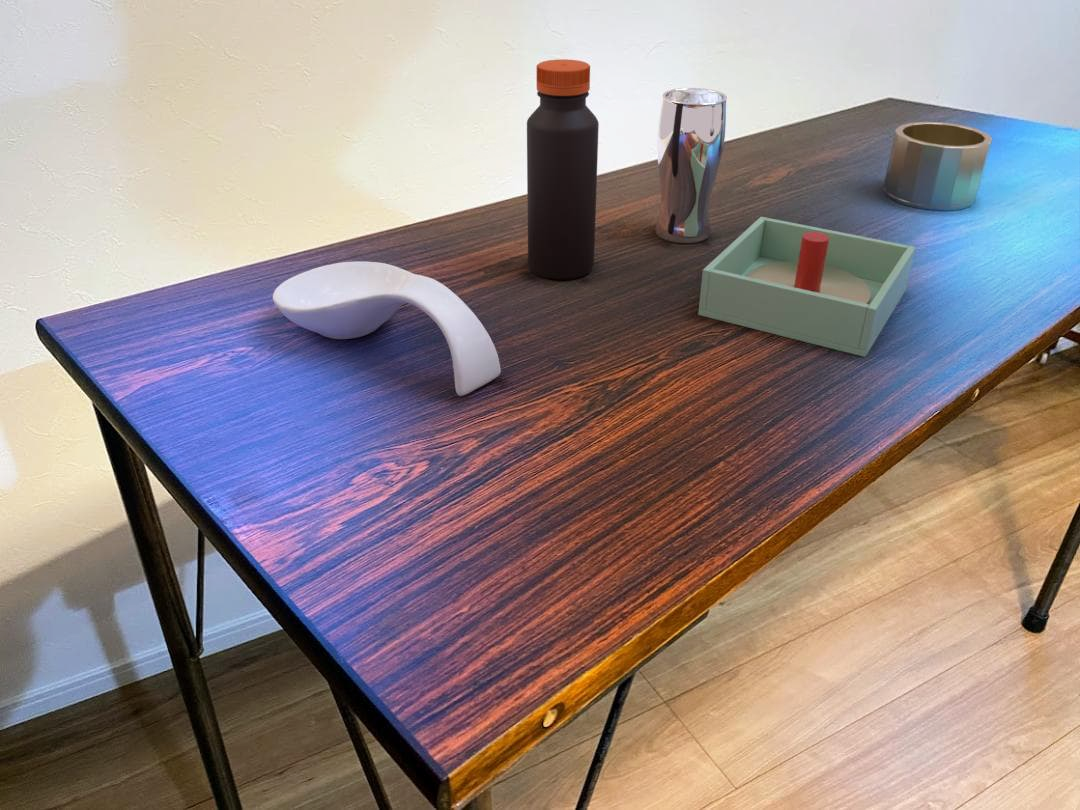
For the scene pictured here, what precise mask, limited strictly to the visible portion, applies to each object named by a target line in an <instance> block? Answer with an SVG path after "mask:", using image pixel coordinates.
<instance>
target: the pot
mask: <svg viewBox="0 0 1080 810" xmlns="http://www.w3.org/2000/svg"><path fill="white" fill-rule="evenodd" d="M992 143H993V138H992V136H991V135H990V134H989V133H987V132H985V131H982V130H980V129H978V128H975V127H971V126H967V125H963V124H957V123H949V122H941V121H917V122H915V121H914V122H909V123H904V124H901V125H899V126H898V127H896V129H895V131H894V135H893V140H892V145H891V150H890V154H889V158H888V163H887V168H886V172H885V178H884V183H883V194H884V195H885V196H886V197H887V198H888V199H890V200H892V201H894V202H896V203H899V204H901V205H903V206H907V207H910V208H915V209H922V210H926V211H927V210H928V211H929V210H930V211H941V212H943V211H945V212H947V211H948V212H949V211H958V210H965V209H967V208H970V207H972V206H973V205H974V204H975V203H976V200H977V198H978V194H979V191H980V188H981V183H982V179H983V176H984V174H985V173H984V172H985V168H986V165H987V161H988V159H989V158H988V157H989V154H990V150H991V146H992Z"/></svg>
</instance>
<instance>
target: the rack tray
mask: <svg viewBox="0 0 1080 810" xmlns="http://www.w3.org/2000/svg"><path fill="white" fill-rule="evenodd" d="M807 232H819V233H823V234H825V235H827V236H828V237H829V243H828V249H827V254H826V260H825V265H827V266H831V267H835V268H838V269H841V270H844V271H846V272H849V273H851V274H853V275H855V276H856V277H858V278H860V279H861V280H862V281H864V282H865V283H866V284H867V286H868V287H869V289H870V291H871V299H870V303H869V304H865V303H861V302H856V301H852V300H848V299H843V298H839V297H834V296H830V295H826V294H821V293H817V292H812V291H808V290H804V289H799V288H795V287H790V286H786V285H782V284H777V283H773V282H768V281H764V280H760V279H755V278H751V277H747V275H748V274H749V273H750V272H751V271H752V270H754V269H756V268H758V267H760V266H763V265H767V264H771V263H778V262H798V259H799V253H800V247H801V241H802V236H803V234H804V233H807ZM916 250H917V247H916V246H913V245H908V244H903V243H898V242H893V241H887V240H883V239H878V238H872V237H867V236H861V235H857V234H851V233H847V232H842V231H836V230H831V229H826V228H821V227H816V226H811V225H806V224H800V223H795V222H791V221H785V220H781V219H775V218H770V217H765V216H759V218H758V219H756V220H755V221H754V222H753V223H752V224H751V225H750V226H748V228H747V229H746V230H745V231H743V232H742V233H741V234H740V235H739V236H738V237H737V238H736V239H735V240H733V241H732V242H731V244H729V245H728V246H727V247H726V248H725V249H724V250H722V251H721V253H719V254H718V255H717V256H716V257H715V258H714V259H713V260H712V261H711V262H710V263H709V264H707V265H706V266H705V267H704V268H703V269H702V273H701V274H702V275H701V282H700V283H701V285H700V295H699V304H698V312H697V315H698V316H702V317H705V318H708V319H712V320H716V321H721V322H725V323H727V324H728V323H729V324H733V325H736V326H740V327H744V328H749V329H752V330H756V331H761V332H764V333H768V334H773V335H776V336H780V337H784V338H787V339H791V340H794V341H795V340H796V341H800V342H804V343H808V344H812V345H815V346H820V347H824V348H827V349H831V350H836V351H839V352H843V353H847V354H851V355H855V356H859V357H863V358H866V357H867V355H868V354H869V352H870V350H871V349H872V347H873V345H874V343H876V341H877V339H878V337H879V335H880V333H881V332H882V330H883V329H884V327H885V325H886V324H887V322H888V320H889V319H890V318H891V316H892V314H893V313H894V311H895V309H896V307H897V306H898V304H899V302H900V301H901V299H902V297H903V296H904V294H905V293H906V291H907V288H908V283H909V278H910V274H911V271H912V266H913V263H914V258H915V254H916Z"/></svg>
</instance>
